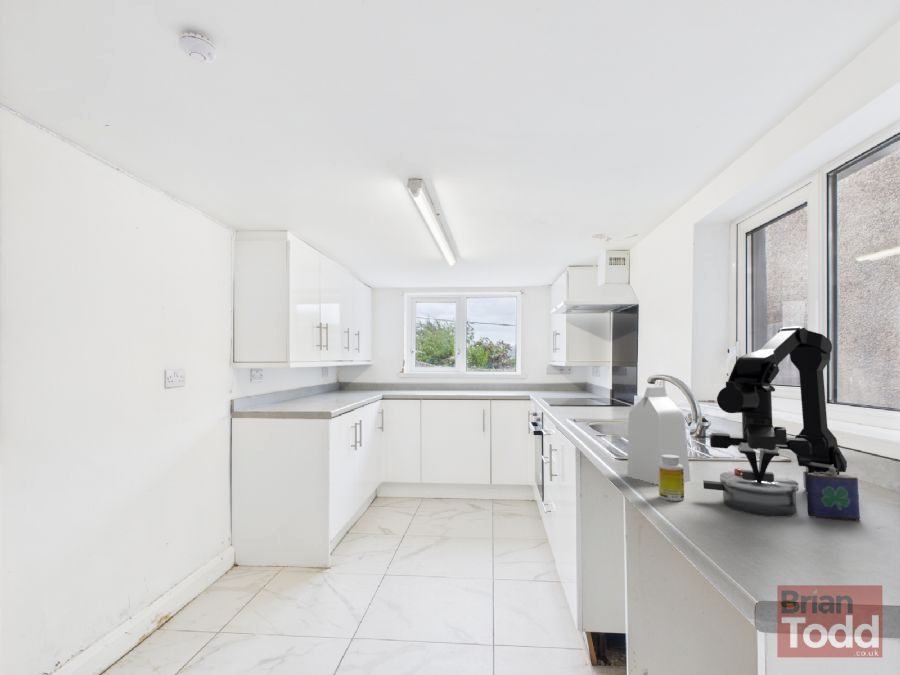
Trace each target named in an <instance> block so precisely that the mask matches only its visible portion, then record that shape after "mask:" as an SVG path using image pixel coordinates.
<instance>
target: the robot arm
mask: <svg viewBox="0 0 900 675" xmlns="http://www.w3.org/2000/svg"><path fill="white" fill-rule="evenodd" d="M832 351H833V343H832V341H831V340H830V339H829V338H828V337H826V336H825V335H824V334H822V333H819V332H816V331H812V330H808V329H807V328H805V327H803V326H802V327H801V326H788V327H787V326H786V327H782V328H779V329H778V330H777V333H775V335H774V336H773V337H772V338H771V339H770V340H768V341H767V342H766V343H765V344H764V345H763V346H762V347H761V348H759V350H756V351H751V352H749V353H746V354H745V353H744V354H743V355H741V356H739V357H738V358H737V359H736V361H735V362H734V365H733V368H732V370H731V372H730V375H729V378H728V380H727V381H725V387H723V388H722V389H721V390H720V391H719V392H718V394H717V396H716V402H717V404H718V407H719V409H721V410H722V411H723V412H725V413H726V414H741V425H742V428H741V429H742V431H741V432H742V437H733V436H731V435H730V433H722V432H720V433H719V432H711V433H710V435H709V445H710V447H711V448H713V449H728V448H730V447H731V446H735V447H736V446H737V450H738V452H739V454H742V455H743V454H744V456H745V457H746V459H747V460H748V463H749V465H750V468H751V471H753V473H754V476H755V478H756V481H757V482H758V483H762V480H763V477H764V475H765V472H767V469H768V467H769V465H770V463H771V461H772V460H773V458H774V457H780V453H779V450H789V451H791V452H792V453H794V454H795V456H796V460H797V465H798V467H805V471H802V473H803V474H802V475H803V488H804V489H805V490H806V491H807V485H806V474H807V473H814V472H815V471H816V472H817V473H819V472H824V473H825V472H827V471H829V469H830V468H829V467H834V468H835V469H838V470H836V472H837V475H840V473H846V471H847V468H848V461H847V460H846V458H845V456H844V455H843V453H842V451H841V450H840V448H839V446H838V440H837V439H838V438H837V437H836V436H835V435H834V434H833V433H832V432H831V431H830V429H829V427H828V418H827V417H828V416H827V403H826V391H825V390H826V389H825V378H824V377H825V376H824V369H825V368H826V366H827V365H828V363H829V362H830V360H831V354H832V353H831V352H832ZM788 355H789V361H790V362H791V363H792V364H793V365H794V366H795V368H796V369H797V370H798V373H799V385H800V398H801V399H800V400H801V401H800V402H801V412H802V424H803V425H802V426H803V428H802V430H801V431H800V432H799V433H798V434H796V435H795V437H789V436H788V437H787V429H786V427H785V426H773V406H772V405H773V404H772V403H773V402H772V400H773V399H772V392H775V391H776V388H775V387H774V386H773V385H772V382H773V381H774V379H776V377H777V376H778V374H779V372H780V367H779V364H780V363H781V362H782V361H784V360H785V358H786V357H787V356H788ZM755 450H759V461H758V460H757V453H756V451H755ZM819 474H823V473H819Z"/></svg>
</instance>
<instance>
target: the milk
mask: <svg viewBox="0 0 900 675" xmlns="http://www.w3.org/2000/svg"><path fill="white" fill-rule="evenodd" d="M627 433H628V434H627V467H626V468H627V470H626V471H627V474H626V477H627V476H628V477H627V478H630V477H632V478H631V479H634V478H636V479H635V480H637V479H640V480H639V481H641V480H644V481H643V482H645V481H647V482H646V483H649V482H651V483H650V484H652V483H654V484H653V485H656V484H658V485H657V486H659V476H658V465H659V463H662V455H676V456H679V460H680V463H679V464H681V465H682V466H683V474H684V481H685V482H689V480H690V481H691V473H690V472H691V471H690V461H689V451H688V440H687V431H686V418H685V415H684V413H683V411H682V410H681V409H680V408H679V407H678V406H677V404H676V403H674V401H673V400H671V399H670V398H669V397H668V394H667V391H666V387H665V386H647V387H646V389H645V392H644V396H643V398H641V399H640V400H639V401H638V402H637V403H636V404H635V405H634V406H633V407H632V408H631V409H630V411H629V413H628V429H627Z"/></svg>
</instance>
